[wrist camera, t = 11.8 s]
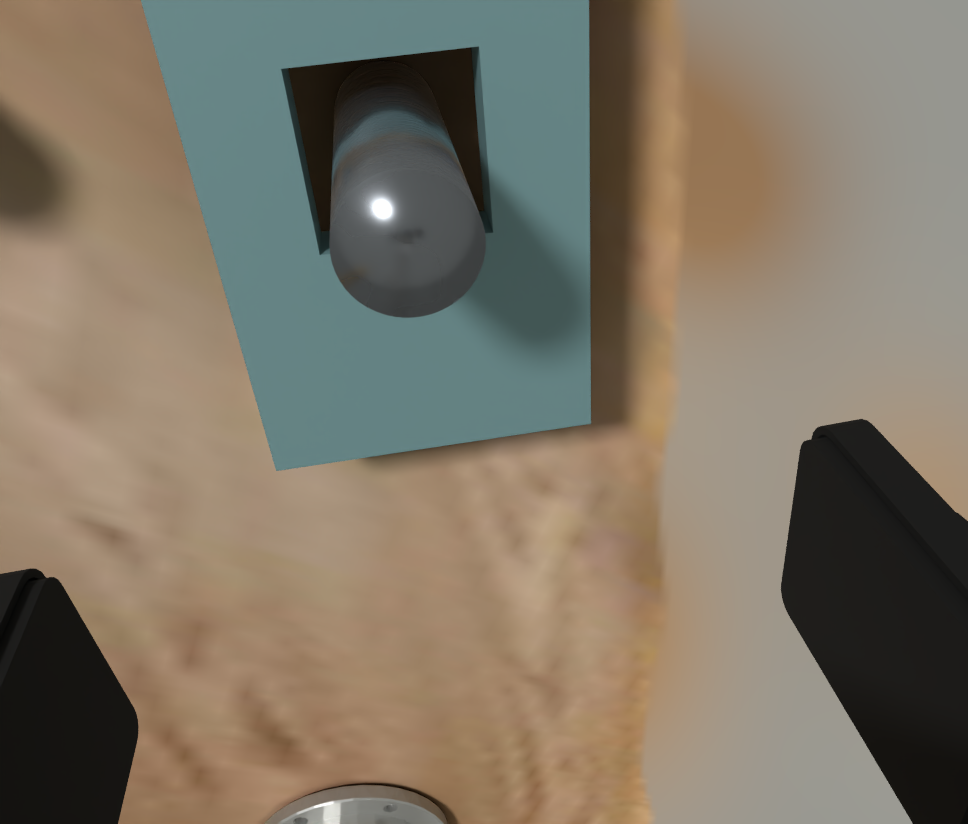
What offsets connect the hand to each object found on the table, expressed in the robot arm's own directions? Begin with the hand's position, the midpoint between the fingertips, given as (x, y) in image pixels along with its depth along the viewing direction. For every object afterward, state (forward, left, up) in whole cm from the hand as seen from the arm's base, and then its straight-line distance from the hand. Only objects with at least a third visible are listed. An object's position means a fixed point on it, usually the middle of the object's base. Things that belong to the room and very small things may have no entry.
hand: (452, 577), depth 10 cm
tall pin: (0, 0, -22) cm, 22 cm away
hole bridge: (0, 0, -22) cm, 22 cm away
